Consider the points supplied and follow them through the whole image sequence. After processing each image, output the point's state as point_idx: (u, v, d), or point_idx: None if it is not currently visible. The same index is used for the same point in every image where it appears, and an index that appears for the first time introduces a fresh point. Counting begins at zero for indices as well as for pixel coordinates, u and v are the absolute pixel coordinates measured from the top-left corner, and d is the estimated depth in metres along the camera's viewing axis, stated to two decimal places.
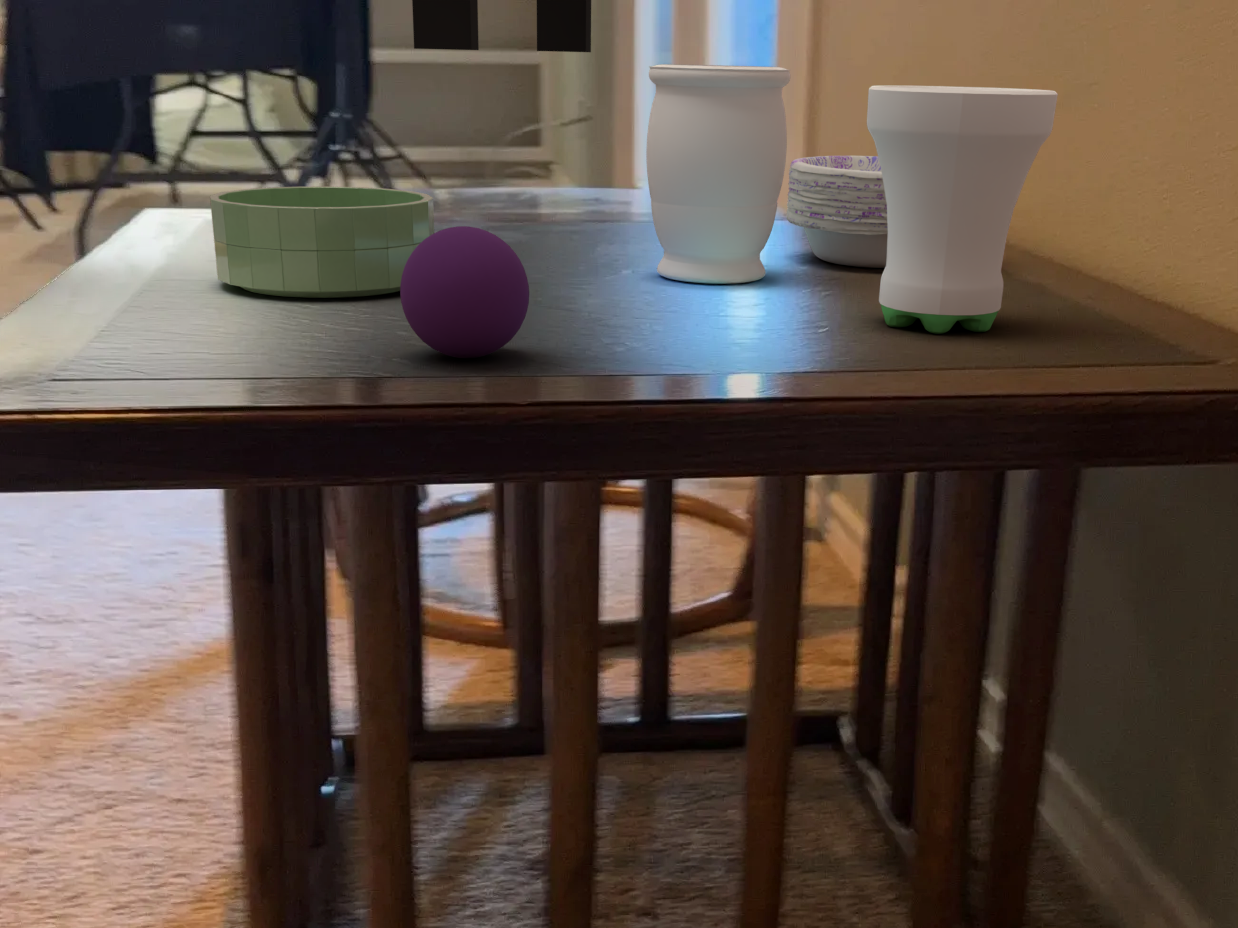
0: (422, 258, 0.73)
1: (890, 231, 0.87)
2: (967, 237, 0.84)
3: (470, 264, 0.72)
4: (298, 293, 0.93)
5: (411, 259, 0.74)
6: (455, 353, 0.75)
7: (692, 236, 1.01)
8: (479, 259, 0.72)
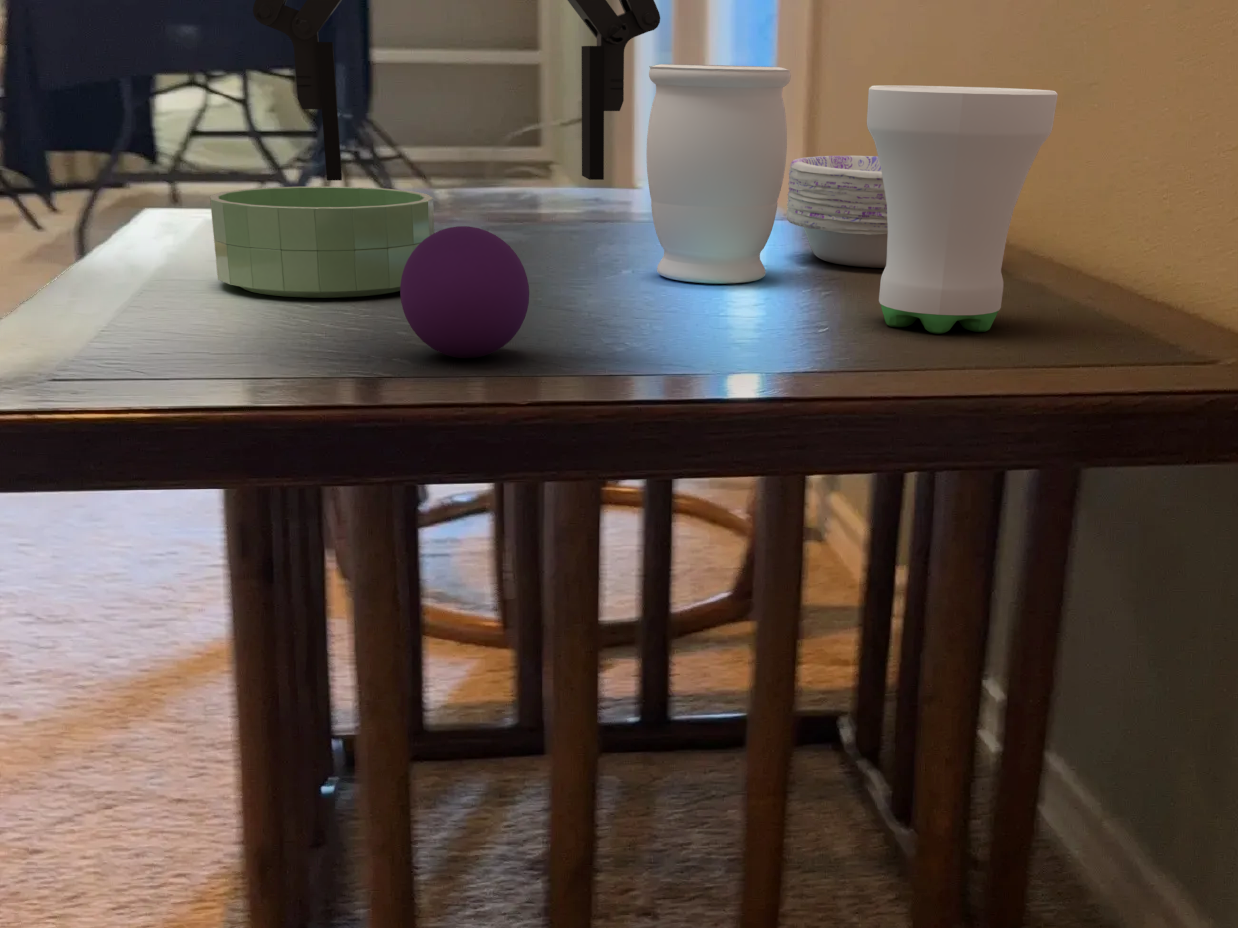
0: (422, 258, 0.73)
1: (890, 231, 0.87)
2: (967, 237, 0.84)
3: (470, 264, 0.72)
4: (298, 293, 0.93)
5: (411, 259, 0.74)
6: (455, 353, 0.75)
7: (692, 236, 1.01)
8: (479, 259, 0.72)
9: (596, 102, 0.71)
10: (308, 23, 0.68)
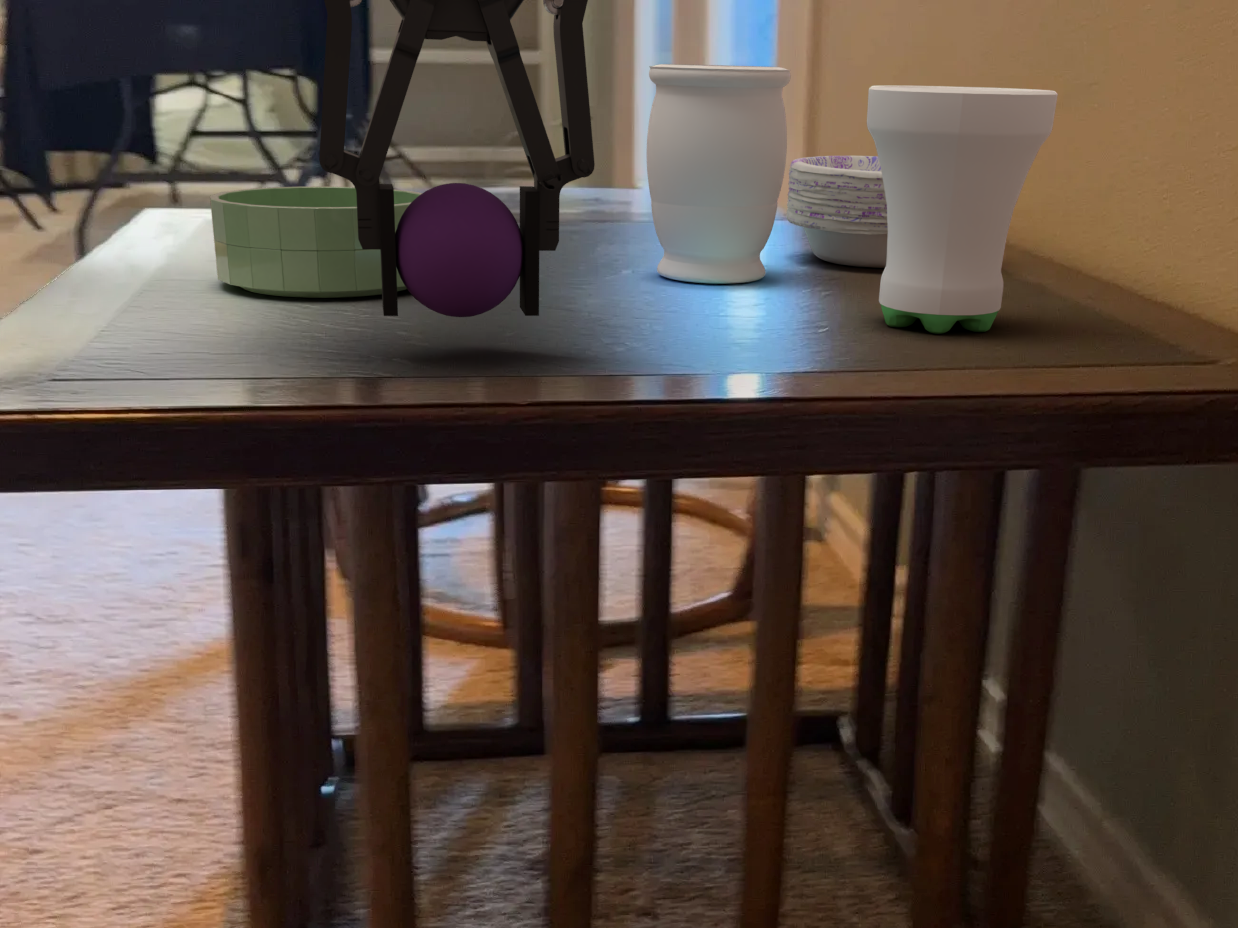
0: (416, 214, 0.72)
1: (890, 231, 0.87)
2: (967, 237, 0.84)
3: (465, 221, 0.71)
4: (298, 293, 0.93)
5: (405, 215, 0.73)
6: (449, 311, 0.74)
7: (692, 236, 1.01)
8: (474, 216, 0.72)
9: (532, 244, 0.74)
10: (370, 170, 0.71)
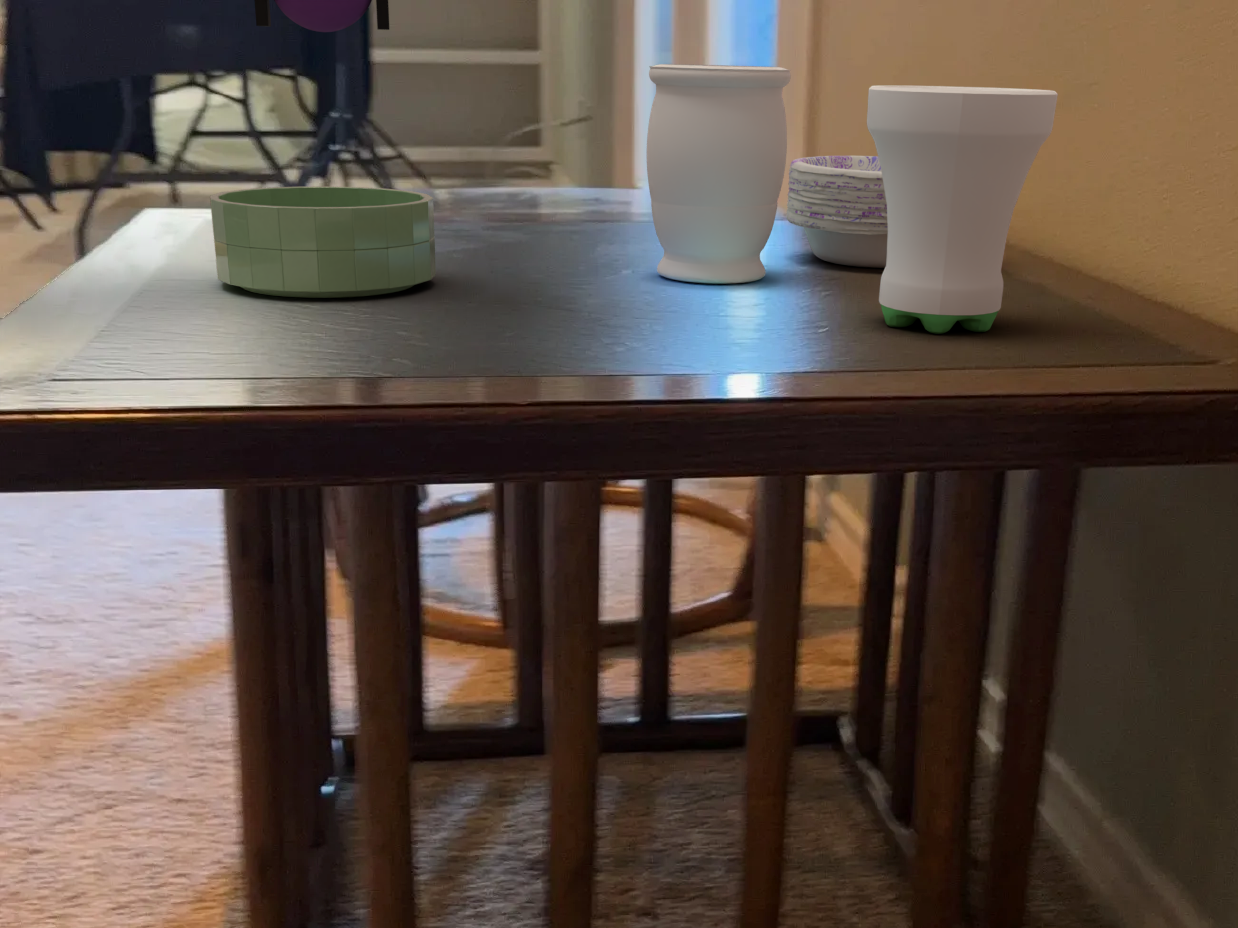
0: None
1: (890, 231, 0.87)
2: (967, 237, 0.84)
3: None
4: (298, 293, 0.93)
5: None
6: (311, 21, 0.88)
7: (692, 236, 1.01)
8: None
9: None
10: None
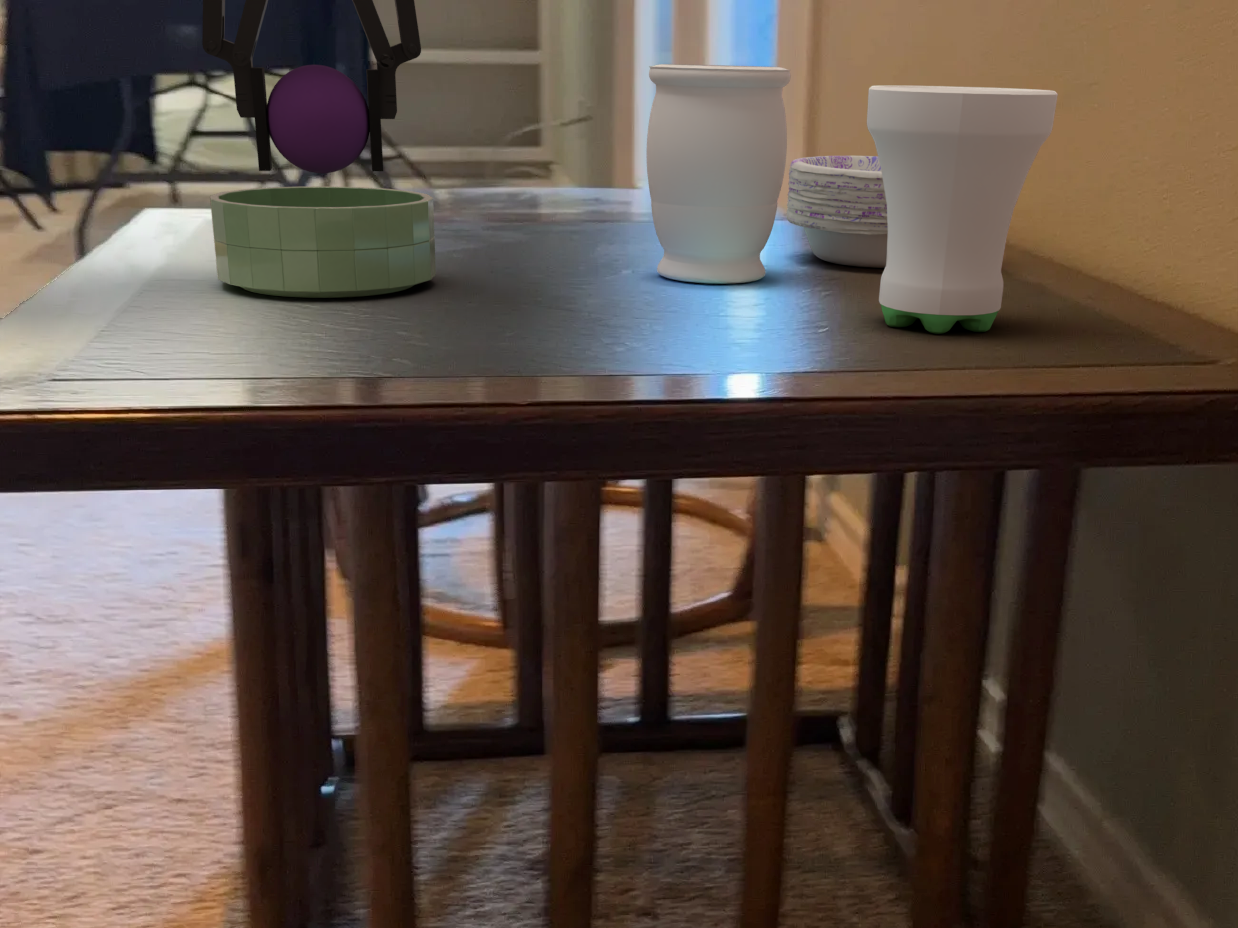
0: (280, 87, 0.92)
1: (890, 231, 0.87)
2: (967, 237, 0.84)
3: (317, 91, 0.92)
4: (298, 293, 0.93)
5: (273, 89, 0.93)
6: (310, 166, 0.94)
7: (692, 236, 1.01)
8: (324, 87, 0.92)
9: (374, 112, 0.94)
10: (242, 53, 0.91)
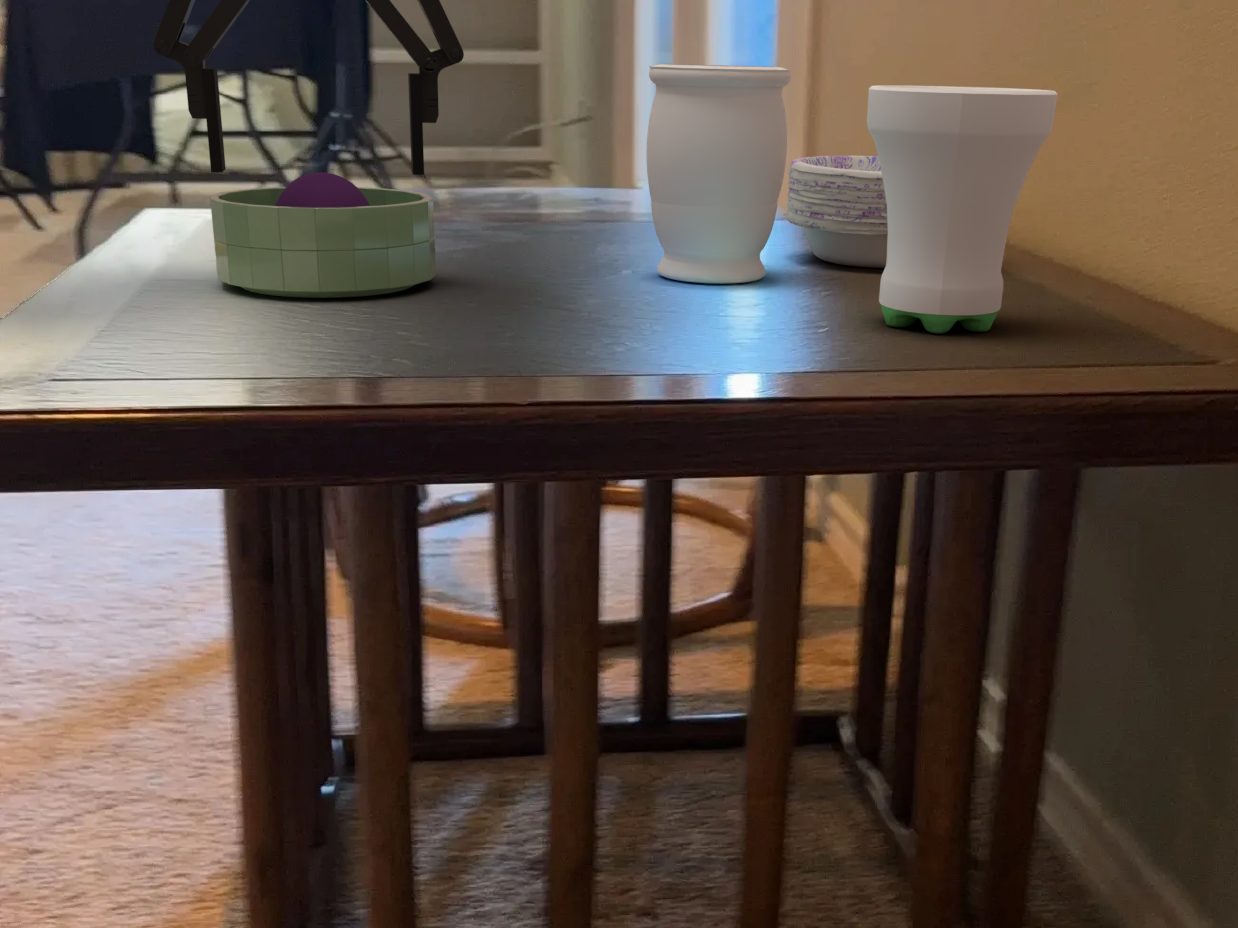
0: (287, 196, 0.95)
1: (890, 231, 0.87)
2: (967, 237, 0.84)
3: (323, 200, 0.94)
4: (298, 293, 0.93)
5: (280, 197, 0.96)
6: None
7: (692, 236, 1.01)
8: (330, 196, 0.94)
9: (416, 116, 0.95)
10: (195, 55, 0.91)
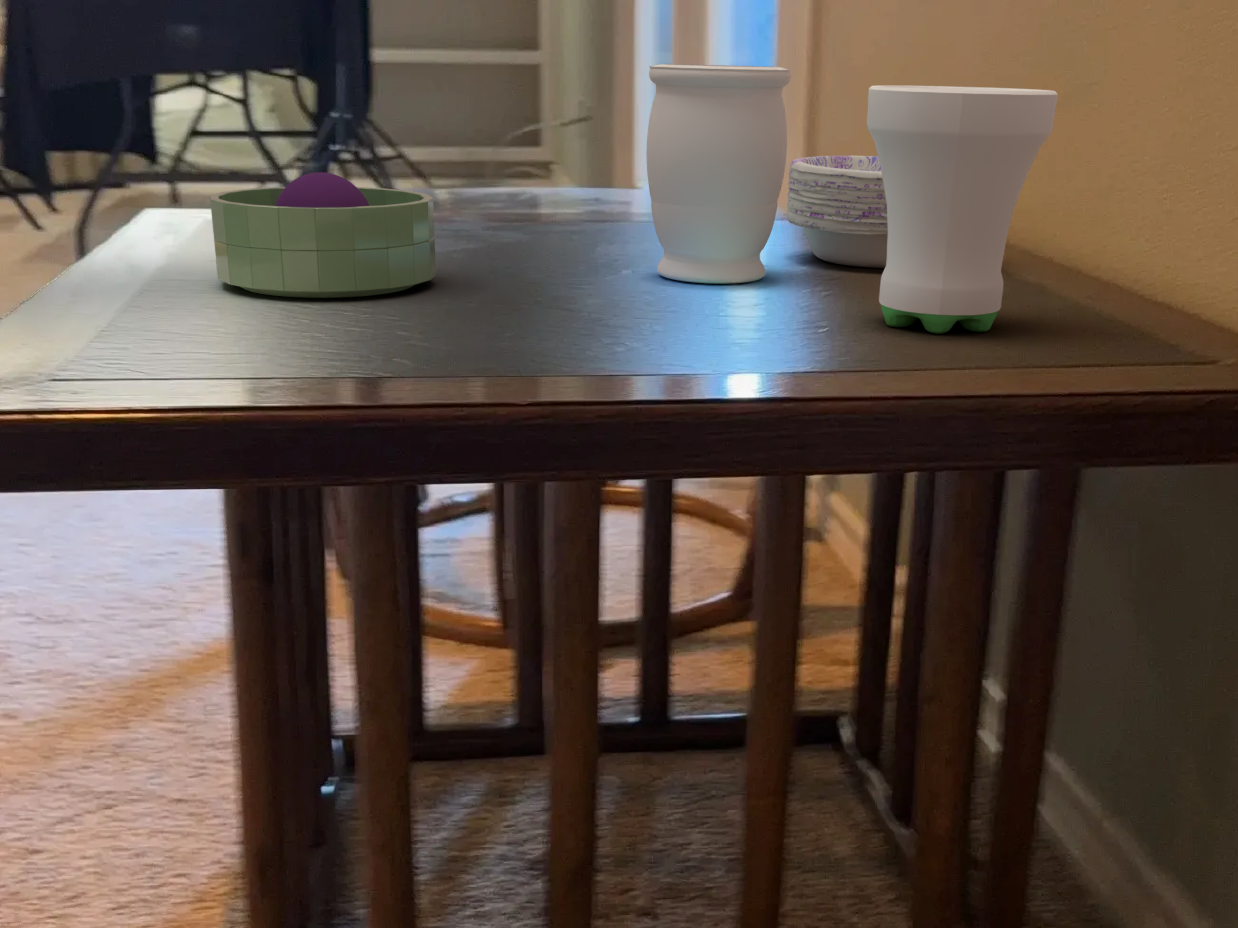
0: (286, 196, 0.95)
1: (890, 231, 0.87)
2: (967, 237, 0.84)
3: (322, 200, 0.94)
4: (298, 293, 0.93)
5: (279, 197, 0.96)
6: None
7: (692, 236, 1.01)
8: (329, 196, 0.94)
9: None
10: None
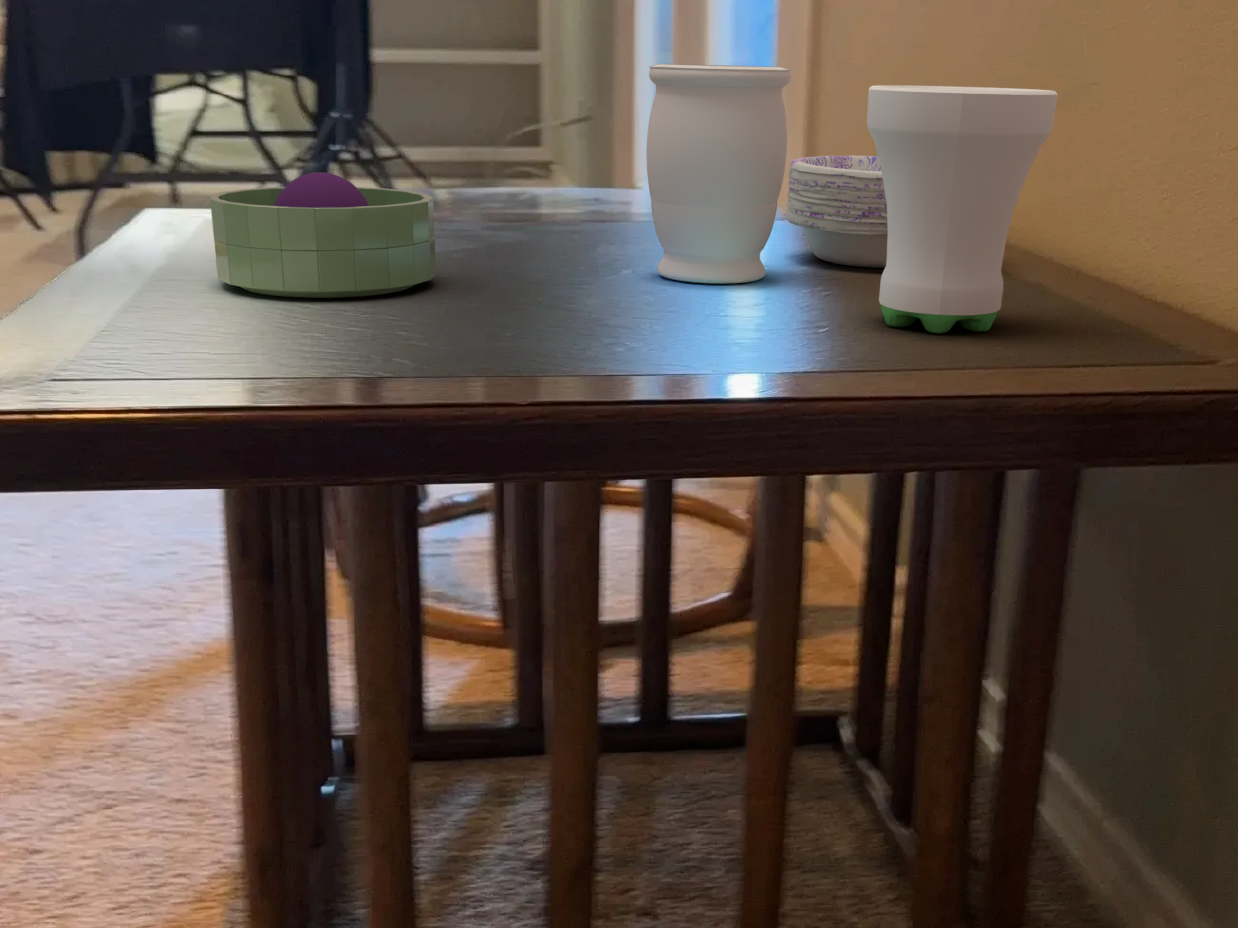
0: (285, 196, 0.95)
1: (890, 231, 0.87)
2: (967, 237, 0.84)
3: (321, 200, 0.94)
4: (298, 293, 0.93)
5: (278, 198, 0.96)
6: None
7: (692, 236, 1.01)
8: (329, 196, 0.94)
9: None
10: None
